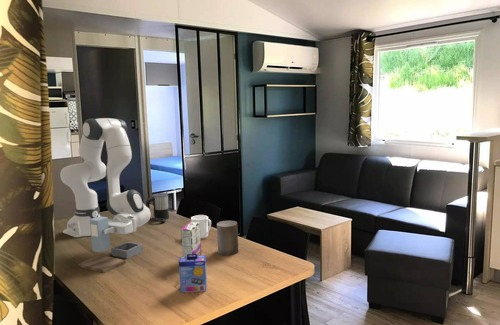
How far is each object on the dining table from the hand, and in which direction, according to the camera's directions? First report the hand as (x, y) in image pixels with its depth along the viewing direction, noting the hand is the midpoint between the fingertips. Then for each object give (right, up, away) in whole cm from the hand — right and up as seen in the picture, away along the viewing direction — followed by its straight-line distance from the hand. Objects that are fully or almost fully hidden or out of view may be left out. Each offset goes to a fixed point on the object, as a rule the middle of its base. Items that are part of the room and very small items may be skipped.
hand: (98, 231), depth 176 cm
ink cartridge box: (+44, -18, -23) cm, 53 cm away
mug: (+40, -9, +38) cm, 56 cm away
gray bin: (+8, -13, +16) cm, 22 cm away
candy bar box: (+40, -14, +4) cm, 43 cm away
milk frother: (+12, -5, +71) cm, 72 cm away
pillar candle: (+55, -12, +15) cm, 59 cm away
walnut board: (+1, -15, +3) cm, 16 cm away
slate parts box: (+1, -8, +2) cm, 9 cm away
